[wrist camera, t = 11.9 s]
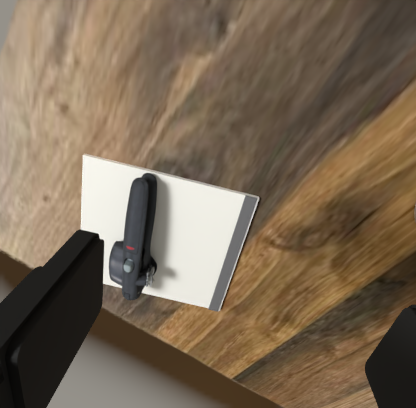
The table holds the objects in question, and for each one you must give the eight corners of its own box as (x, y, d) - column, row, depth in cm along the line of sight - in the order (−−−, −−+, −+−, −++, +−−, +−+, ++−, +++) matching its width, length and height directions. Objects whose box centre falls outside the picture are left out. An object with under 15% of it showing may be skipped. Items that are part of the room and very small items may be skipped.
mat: (258, 196, 37) (259, 199, 36) (219, 307, 46) (219, 311, 45) (85, 153, 36) (82, 155, 35) (81, 275, 45) (78, 278, 45)
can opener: (156, 283, 44) (146, 313, 39) (111, 272, 44) (95, 300, 39) (179, 176, 36) (170, 196, 31) (123, 162, 36) (105, 180, 31)
